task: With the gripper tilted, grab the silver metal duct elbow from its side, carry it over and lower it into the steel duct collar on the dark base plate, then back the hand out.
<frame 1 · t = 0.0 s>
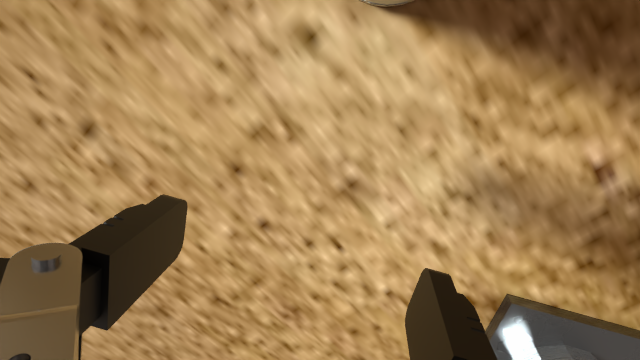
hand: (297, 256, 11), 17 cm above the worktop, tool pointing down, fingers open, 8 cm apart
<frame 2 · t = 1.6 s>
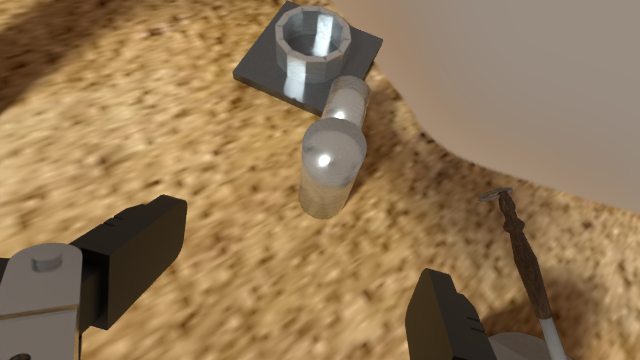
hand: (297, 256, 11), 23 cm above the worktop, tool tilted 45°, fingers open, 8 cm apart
coffee pot: (475, 346, 32), on the worktop
duct collar: (310, 61, 44), on the worktop
duct elbow: (322, 196, 37), on the worktop
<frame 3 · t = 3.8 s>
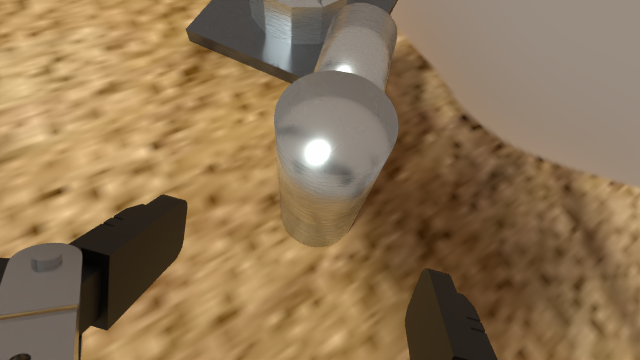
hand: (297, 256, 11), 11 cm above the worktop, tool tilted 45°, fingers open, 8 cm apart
duct collar: (301, 18, 31), on the worktop
duct elbow: (317, 211, 24), on the worktop
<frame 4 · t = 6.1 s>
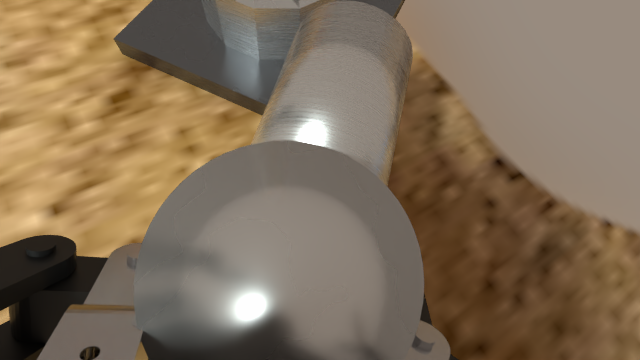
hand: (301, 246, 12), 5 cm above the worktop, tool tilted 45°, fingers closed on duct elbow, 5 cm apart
duct collar: (276, 23, 24), on the worktop
duct elbow: (287, 311, 16), on the worktop, touching gripper
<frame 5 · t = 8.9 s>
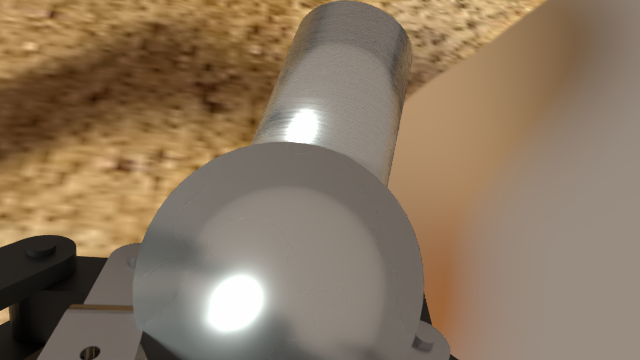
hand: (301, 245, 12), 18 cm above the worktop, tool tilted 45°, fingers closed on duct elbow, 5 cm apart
duct elbow: (287, 312, 16), point 13 cm above the worktop, touching gripper
when the fingers open (8 cm above the worktop, at t = 12.0 s): duct elbow drops 1 cm, resting on duct collar.
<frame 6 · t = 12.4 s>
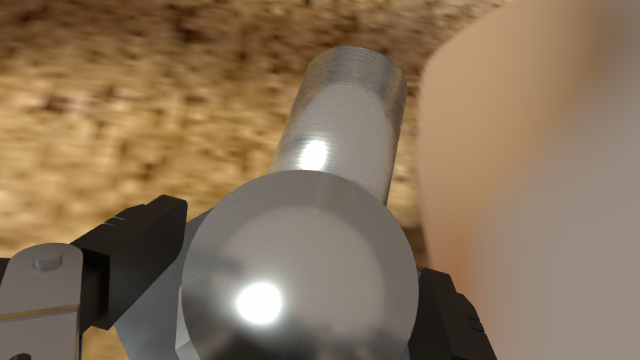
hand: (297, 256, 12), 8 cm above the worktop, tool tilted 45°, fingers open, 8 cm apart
duct collar: (287, 315, 19), on the worktop
duct elbow: (287, 318, 17), point 1 cm above the worktop, touching duct collar
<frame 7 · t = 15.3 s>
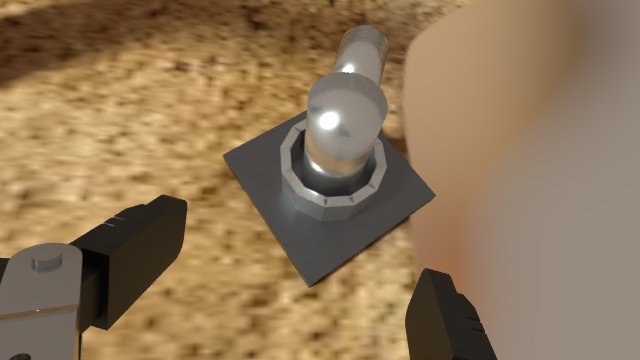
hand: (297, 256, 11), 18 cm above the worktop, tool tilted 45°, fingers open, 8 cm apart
duct collar: (327, 180, 33), on the worktop
duct elbow: (329, 177, 32), point 1 cm above the worktop, touching duct collar
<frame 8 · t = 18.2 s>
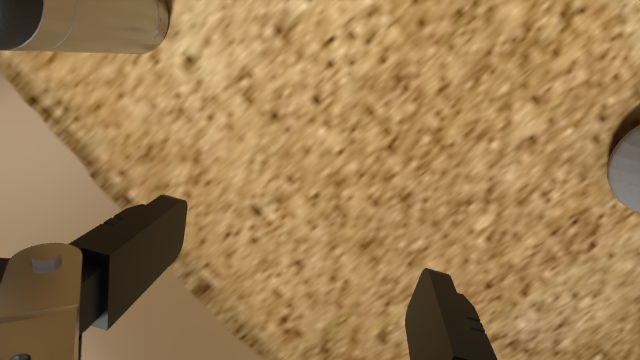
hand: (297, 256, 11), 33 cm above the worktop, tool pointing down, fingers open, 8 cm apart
coffee pot: (631, 122, 39), on the worktop
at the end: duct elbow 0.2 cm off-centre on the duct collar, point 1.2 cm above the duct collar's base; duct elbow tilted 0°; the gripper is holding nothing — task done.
